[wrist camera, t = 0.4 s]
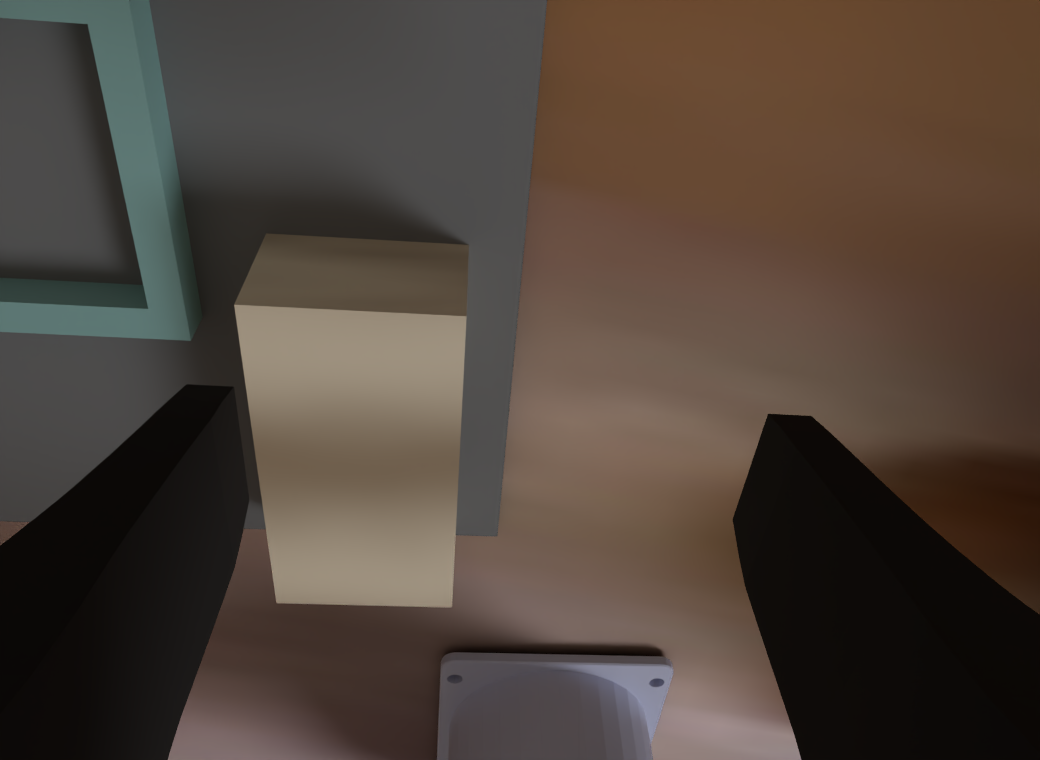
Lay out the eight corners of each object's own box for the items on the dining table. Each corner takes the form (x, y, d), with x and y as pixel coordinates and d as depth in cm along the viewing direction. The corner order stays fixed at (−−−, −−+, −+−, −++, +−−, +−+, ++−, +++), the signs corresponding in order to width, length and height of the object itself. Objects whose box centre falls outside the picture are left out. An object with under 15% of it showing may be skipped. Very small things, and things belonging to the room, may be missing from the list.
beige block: (455, 523, 25) (452, 607, 22) (297, 518, 24) (276, 603, 22) (469, 244, 19) (466, 316, 17) (266, 233, 19) (234, 305, 16)
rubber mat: (496, 523, 25) (497, 536, 25) (-214, 501, 24) (-226, 514, 23) (564, -206, 15) (565, -206, 14) (-719, -330, 13) (-758, -334, 13)
